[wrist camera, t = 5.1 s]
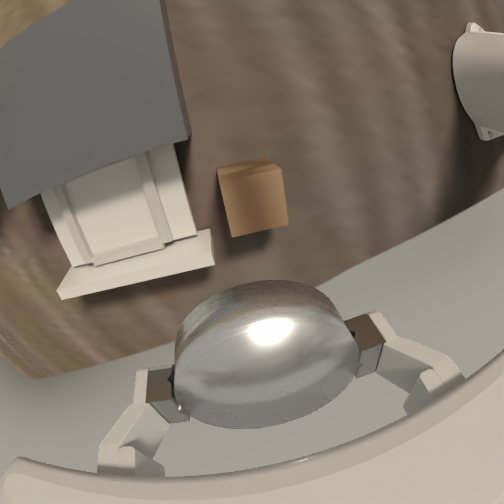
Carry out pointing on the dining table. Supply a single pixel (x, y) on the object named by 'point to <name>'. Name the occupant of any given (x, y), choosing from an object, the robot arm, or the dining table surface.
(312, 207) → the dining table surface
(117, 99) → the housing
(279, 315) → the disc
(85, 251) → the cream drawer
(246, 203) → the wooden block
